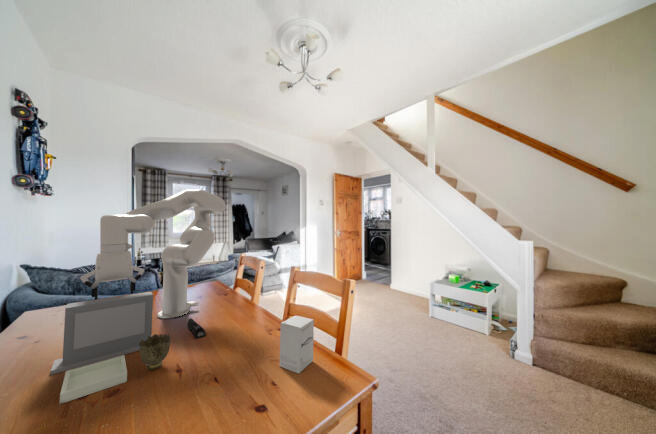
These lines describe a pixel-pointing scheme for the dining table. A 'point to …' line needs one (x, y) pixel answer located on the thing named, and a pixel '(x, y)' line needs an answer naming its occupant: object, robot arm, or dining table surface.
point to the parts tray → (93, 378)
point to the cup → (154, 350)
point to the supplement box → (296, 343)
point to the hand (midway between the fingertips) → (114, 295)
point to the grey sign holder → (104, 329)
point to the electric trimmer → (196, 329)
